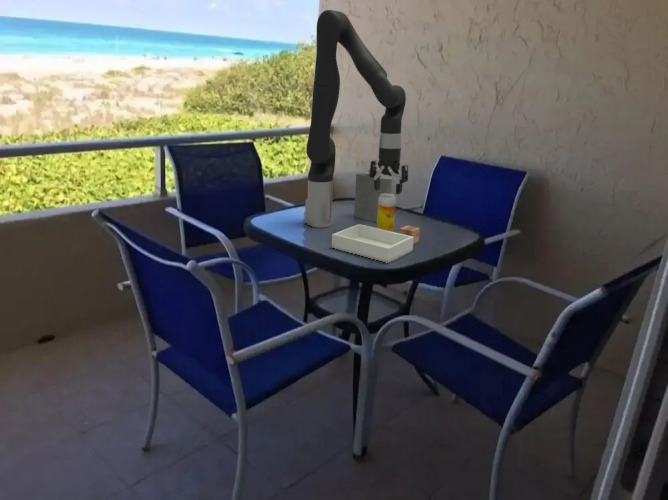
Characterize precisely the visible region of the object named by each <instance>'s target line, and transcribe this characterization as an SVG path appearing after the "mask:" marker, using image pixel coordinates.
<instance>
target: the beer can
mask: <svg viewBox="0 0 668 500" xmlns="http://www.w3.org/2000/svg"><path fill="white" fill-rule="evenodd" d="M396 199H397V198H396V197H395V194H393V193H391V194H387V193H385V194H380V196H379V198H378V214H377V222H376V228H379V229H383V230H387V231H391V232H395V231H394V228H395V227H394V226H395V213H396V212H395V211H396V202H397V201H396Z"/></svg>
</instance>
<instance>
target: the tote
mask: <svg viewBox="0 0 668 500" xmlns="http://www.w3.org/2000/svg"><path fill="white" fill-rule="evenodd" d="M413 241H414V237H412V236H408V235H404V234H400V232H395V231H393V232H391V231H387V230H383V229H379V228H377V227H374V226H370V225H365V224H362V223H358V224H355V225H353V226H349V227H348V228H345V229H343V230H339V231H337V232H335V233H332V234H331V249H332V248H335V249H334V250H336V249H339V250H343V251H346V252H349V253H348V254H350V253H353V254H352V255H354V254H357V255H360V256H359V257H361V256H364V257H363V258H365V257H368V258H371V259H370V260H372V259H375V260H374V261H376V260H379V261H383V262H386V263H385V264H387V263H388V264H390V263H392V262H394V261H396V260H399V259H400V258H403V257H404V256H406V255H408V254H410V253H412V252H413V250H414V244H413ZM339 250H338V251H339ZM343 251H342V252H343ZM346 252H345V253H346ZM357 255H356V256H357ZM368 258H367V259H368ZM379 261H378V262H379ZM391 261H392V262H391ZM383 262H382V263H383ZM389 262H390V263H389Z"/></svg>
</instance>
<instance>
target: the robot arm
mask: <svg viewBox="0 0 668 500" xmlns="http://www.w3.org/2000/svg"><path fill="white" fill-rule="evenodd" d="M338 43H339V44H340V46H342V47H343V48H344V49H345V51H346V52H347V53H348V54H349V56H350V58H351V60H352V62H353V65H354V67H355V69H356V70H357V72H358V73H359V75H361V77H362V78H363V79H364V81H365V82H366V83H367V84H368V85H369V86H370V89H371V91H372V93H373V95H374V96H375V98H376V100H377V101H378V102H379V103H380V104H381V105H382V106H383V107H384V108H385V110H384V113H383V115H382V117H381V119H380V130H379V131H380V135H379V140H378V142H379V143H378V160H377V159H373V160H371V161H370V165H369V167H370V168H369V169H370V172H369V173H370V177H372V178H373V179H374V189H375V190H376V191H378V190H380V178H381V176H382V177H383V176H388V177H392V179H394V180H395V182H396V184H395V185H396V186H395V194H396V195H400V194H401V193H403V192H402V191H403V184H405V183H406V182H408V181H409V165H408V164H401V153H402V152H401V151H402V119H403V116H404V112H405V106H406V100H407V98H406V91H405V89H404V88H403V87H402V86H401V85H396V84H395V85H393V84H392V83H391V82H390V80H389V79H388V73H387V71H386V70H385V68H384V67H383V65H382V64H381V63H380V62H379V61H378V60H377V59H376V58H375V56H374V55H373V53H371V51H370V50H369V49H368V47H367V46H366V45H365V44H364V42H363V40H362V39H361V37H360V36H359V34H358V32H356V29H355V28H354V26H353V24H352V22H351V20H350V18H349V17H348V15H346V13H344V12H343V11H339V10H334V9H333V10H332V9H327V10H324V11H322V12H321V13H320V14H319V16H318V18H317V22H316V55H315V56H316V58H315V67H314V77H313V85H312V86H313V87H312V100H311V113H310V114H311V119H310V127H309V133H308V137H307V141H306V142H307V143H306V148H305V150H306V156H307V158H308V159H309V160H310V166H309V170H308V174H307V198H306V199H305V206H304V208H305V209H304V210H305V211H304V214H305V218H304V223H307V224H306V225H307V226H309V225H310V226H309V227H311V226H312V228H318V229H320V228H328V227H329V228H330V227H331V226H332V224H333V221H332V220H333V191H334V190H333V184H334V174H335V168H336V167H335V166H336V153H337V152H336V144H335V142H334V140H333V138H331V128H332V127H331V126H332V123H333V119H334V116H335V113H336V110H337V108H338V107H337V106H338V103H339V98H340V86H341V77H340V70H339V66H338V61H337V49H338ZM377 167H378V168H379V169H377ZM376 170H378V172H377V173H376ZM400 171H401V172H400Z"/></svg>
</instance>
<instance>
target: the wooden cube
mask: <svg viewBox="0 0 668 500" xmlns="http://www.w3.org/2000/svg"><path fill="white" fill-rule="evenodd" d="M399 233H400V234H404V235H408V236H412V237H414V241H413V245H415V244H417V243H419V241H420V227H416V226H412V225H405V226H402V227H400V228H399Z"/></svg>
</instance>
